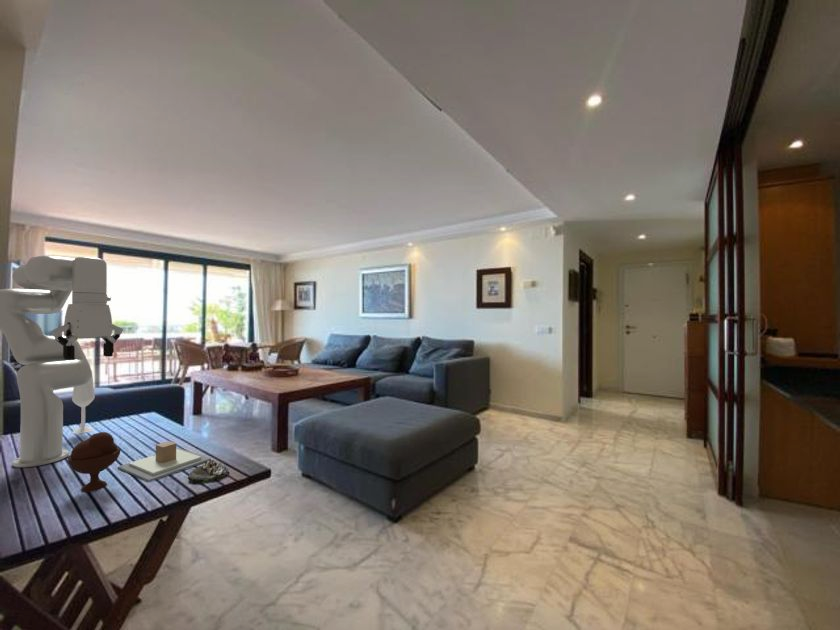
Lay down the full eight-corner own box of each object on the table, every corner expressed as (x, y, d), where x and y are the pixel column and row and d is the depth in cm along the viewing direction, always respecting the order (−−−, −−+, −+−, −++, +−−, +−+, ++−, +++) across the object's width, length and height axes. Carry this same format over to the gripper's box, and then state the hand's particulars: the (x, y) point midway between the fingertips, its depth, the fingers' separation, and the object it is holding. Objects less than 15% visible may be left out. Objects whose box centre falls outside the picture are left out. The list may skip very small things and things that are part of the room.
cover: (128, 465, 113) (129, 446, 113) (176, 451, 125) (177, 434, 125) (153, 475, 106) (153, 455, 106) (201, 459, 119) (201, 441, 119)
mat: (117, 468, 112) (117, 466, 112) (179, 449, 128) (179, 448, 128) (148, 482, 104) (149, 479, 104) (210, 460, 120) (210, 458, 120)
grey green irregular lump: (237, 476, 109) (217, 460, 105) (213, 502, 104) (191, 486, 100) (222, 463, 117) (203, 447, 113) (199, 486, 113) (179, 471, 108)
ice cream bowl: (114, 475, 108) (114, 424, 108) (123, 486, 101) (124, 432, 101) (64, 487, 99) (65, 433, 99) (71, 501, 92) (71, 442, 92)
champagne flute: (66, 433, 143) (67, 372, 143) (82, 428, 149) (83, 369, 149) (83, 433, 143) (84, 372, 143) (98, 428, 149) (99, 369, 149)
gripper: (113, 301, 117) (113, 354, 117) (43, 298, 100) (43, 360, 100) (130, 300, 114) (129, 355, 114) (61, 298, 98) (61, 361, 98)
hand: (89, 357), depth 107 cm, fingers open, 9 cm apart
